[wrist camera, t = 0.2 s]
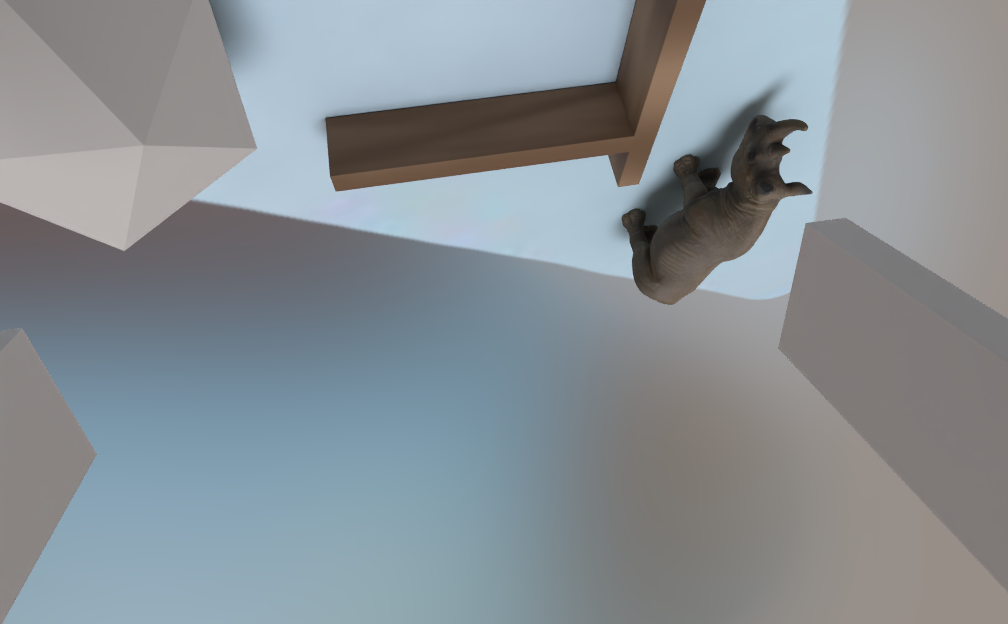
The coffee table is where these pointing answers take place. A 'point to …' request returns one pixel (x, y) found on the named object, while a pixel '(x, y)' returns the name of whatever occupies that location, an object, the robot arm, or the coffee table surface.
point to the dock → (527, 118)
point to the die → (114, 112)
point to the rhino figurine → (713, 214)
